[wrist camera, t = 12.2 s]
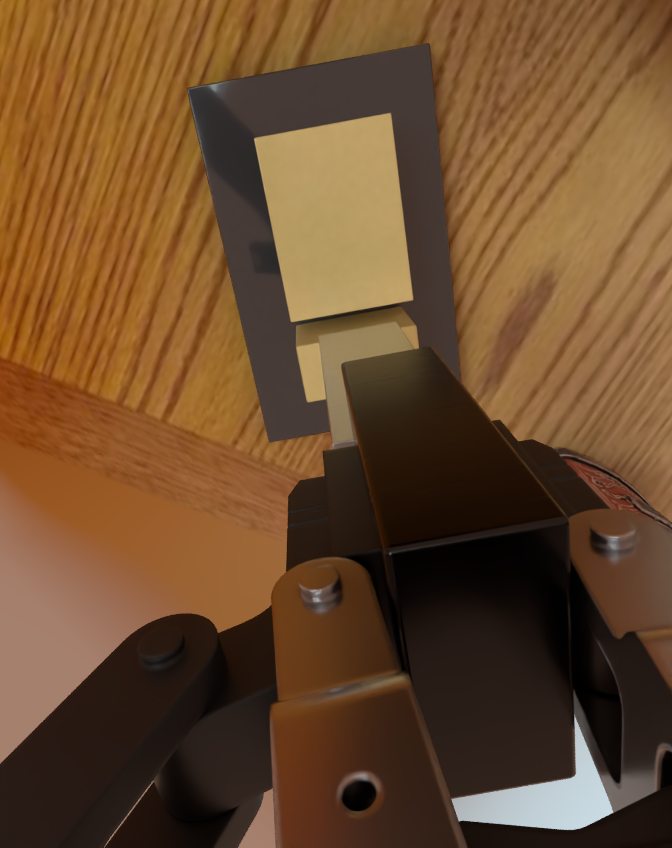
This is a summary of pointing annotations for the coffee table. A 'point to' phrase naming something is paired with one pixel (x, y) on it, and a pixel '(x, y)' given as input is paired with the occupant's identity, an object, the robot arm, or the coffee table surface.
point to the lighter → (612, 487)
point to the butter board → (252, 219)
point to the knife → (461, 562)
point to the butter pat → (310, 331)
